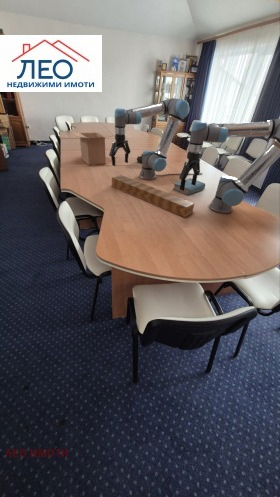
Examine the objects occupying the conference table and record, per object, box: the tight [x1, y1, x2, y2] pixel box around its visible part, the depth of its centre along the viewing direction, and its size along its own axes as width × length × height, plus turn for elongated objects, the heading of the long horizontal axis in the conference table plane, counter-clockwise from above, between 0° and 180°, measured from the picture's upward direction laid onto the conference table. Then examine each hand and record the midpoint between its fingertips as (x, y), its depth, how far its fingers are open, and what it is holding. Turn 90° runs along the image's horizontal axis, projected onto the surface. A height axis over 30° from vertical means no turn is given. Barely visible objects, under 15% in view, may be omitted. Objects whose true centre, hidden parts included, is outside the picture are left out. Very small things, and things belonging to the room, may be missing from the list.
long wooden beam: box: [111, 174, 195, 219], centre depth 165 cm, size 72×10×7 cm, turn 48°
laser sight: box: [136, 153, 143, 164], centre depth 240 cm, size 10×22×10 cm, turn 78°
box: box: [70, 129, 114, 166], centre depth 229 cm, size 44×36×27 cm
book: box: [173, 177, 206, 196], centre depth 186 cm, size 23×16×5 cm
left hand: (120, 164), depth 172 cm, fingers open, 13 cm apart
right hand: (187, 187), depth 140 cm, fingers open, 13 cm apart
